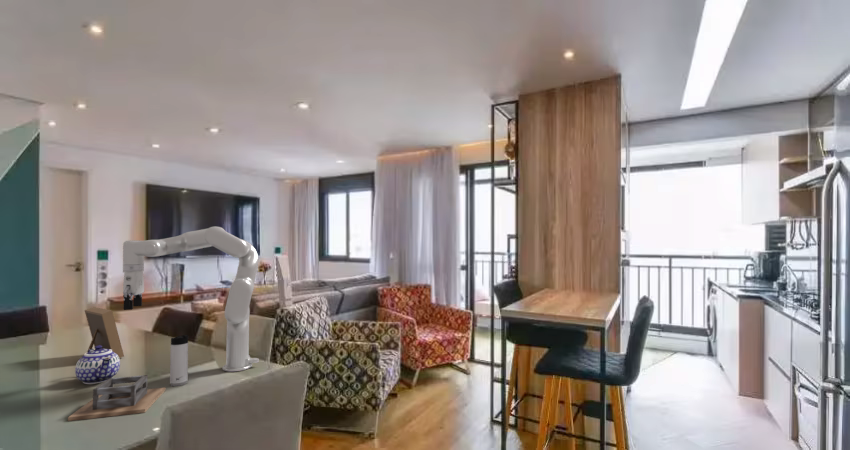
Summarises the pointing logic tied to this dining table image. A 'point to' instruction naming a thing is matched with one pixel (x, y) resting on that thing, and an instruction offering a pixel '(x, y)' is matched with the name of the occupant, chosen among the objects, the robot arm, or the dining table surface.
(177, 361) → the travel mug
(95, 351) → the teapot
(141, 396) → the collar stand
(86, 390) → the dining table surface
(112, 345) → the photo frame
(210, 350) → the dining table surface
